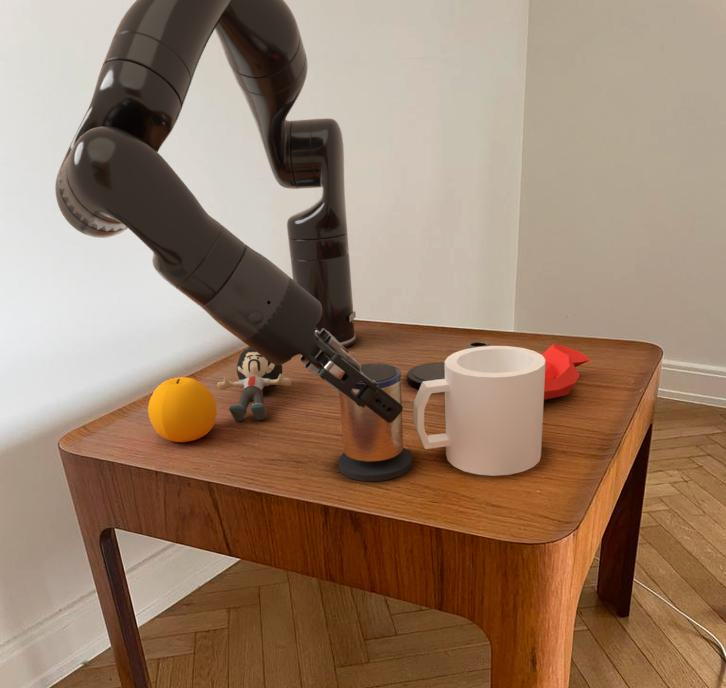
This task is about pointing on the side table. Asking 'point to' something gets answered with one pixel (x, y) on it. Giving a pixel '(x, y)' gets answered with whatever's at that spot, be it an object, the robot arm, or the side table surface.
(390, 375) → the pot
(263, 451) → the side table surface
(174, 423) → the orange
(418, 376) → the disc
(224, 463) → the side table surface
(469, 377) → the mug
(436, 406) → the side table surface
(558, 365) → the animal figurine
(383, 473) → the trivet
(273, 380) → the figurine
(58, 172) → the robot arm
